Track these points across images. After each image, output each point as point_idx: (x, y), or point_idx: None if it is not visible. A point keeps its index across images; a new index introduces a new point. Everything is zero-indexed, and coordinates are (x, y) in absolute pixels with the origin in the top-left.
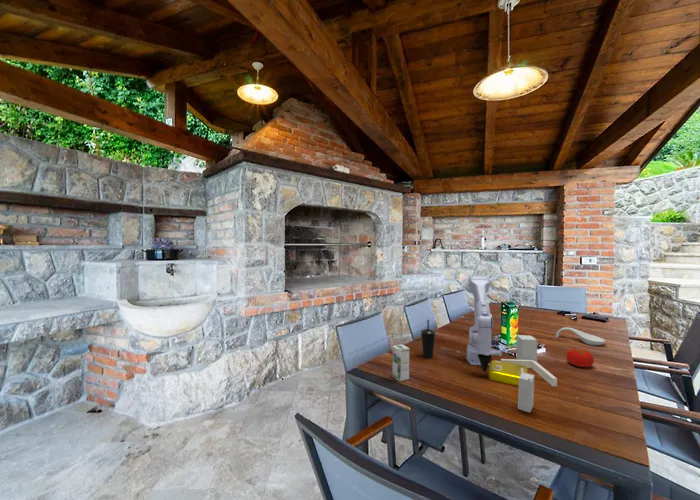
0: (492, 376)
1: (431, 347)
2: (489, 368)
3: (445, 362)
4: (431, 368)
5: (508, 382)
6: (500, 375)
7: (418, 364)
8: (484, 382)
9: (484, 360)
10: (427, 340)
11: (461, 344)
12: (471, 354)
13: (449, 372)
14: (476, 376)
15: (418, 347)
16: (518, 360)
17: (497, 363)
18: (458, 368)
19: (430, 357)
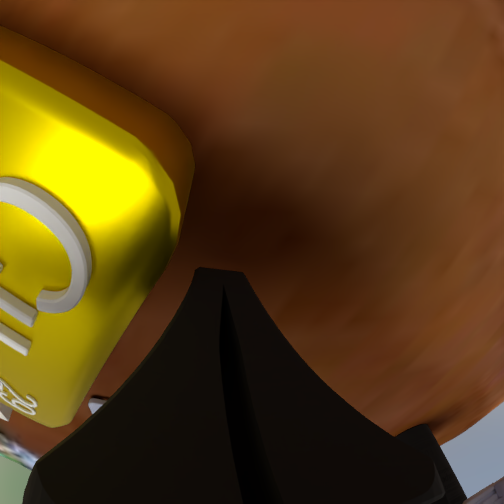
0: (159, 121)
1: None
2: (138, 290)
3: (382, 414)
4: (497, 341)
5: (15, 36)
6: (39, 69)
7: (499, 367)
8: (321, 67)
9: (296, 444)
10: (461, 495)
11: None
12: (483, 492)
13: (471, 307)
14: (325, 234)
15: None
16: None
17: (18, 383)
18: (372, 368)
19: (415, 431)
